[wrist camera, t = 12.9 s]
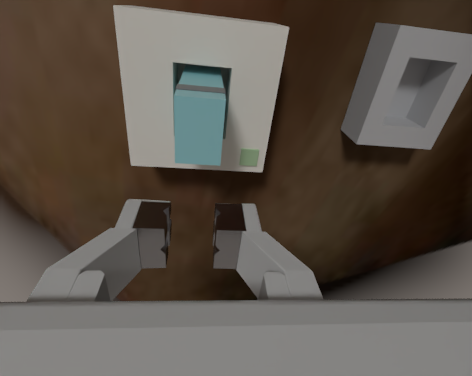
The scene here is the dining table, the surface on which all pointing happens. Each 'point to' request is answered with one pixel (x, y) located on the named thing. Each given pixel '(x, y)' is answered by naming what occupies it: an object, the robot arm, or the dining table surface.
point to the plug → (199, 116)
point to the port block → (201, 54)
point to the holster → (407, 86)
